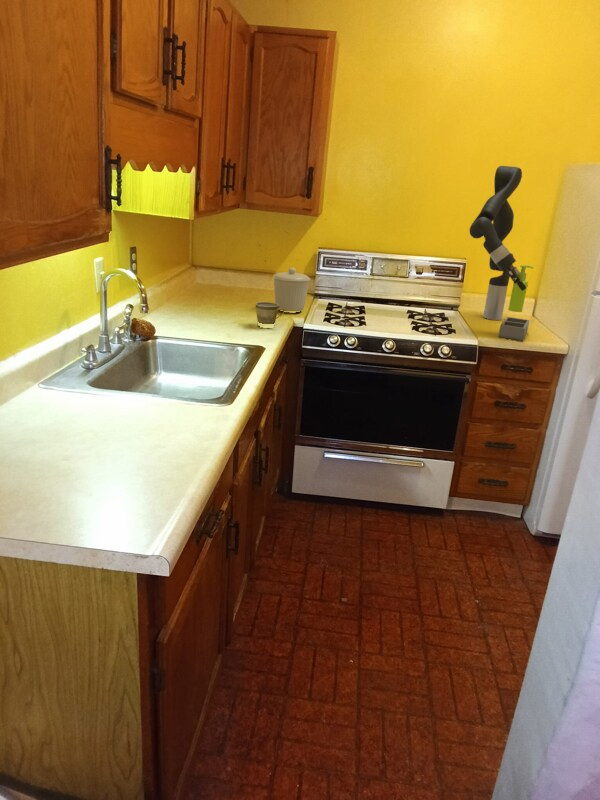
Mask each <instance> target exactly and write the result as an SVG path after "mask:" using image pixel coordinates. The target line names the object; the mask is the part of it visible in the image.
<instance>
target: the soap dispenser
mask: <svg viewBox="0 0 600 800" xmlns="http://www.w3.org/2000/svg"><path fill="white" fill-rule="evenodd" d="M520 268H521V269H520V271H519V272H520V273H518V274H519V275H520V279H521V281H522V282H523V284H524V285H525V286H526V289H524V290H523V291H522V290H521V289H520V288H519V286H518V285H517V284H516V283H514V282H513V285H512V289H511V294H510V300H509V305H508V311H510V312H513V313H522V312H523V309H524V303H525V298H526V293H527V290H528V289H527V288H528V286H529V285H528V284H529V282H528V281H527V280H526V279H527V273H526V268H528V269H534V266H530V265H524V264H523V265H522V264H521V265H520ZM527 285H528V286H527Z"/></svg>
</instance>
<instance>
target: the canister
mask: <svg viewBox="0 0 600 800" xmlns="http://www.w3.org/2000/svg"><path fill="white" fill-rule="evenodd" d="M272 278H273V286H274V287H273V288H274V290H273V291H274V303H277V304H279V308H283V309H284V311H302V310H303V311H304V308H305V304H306V299H307V293H308V289H309V283H310V281H311V280H312V279H311V278H310V277H309V276H308V275H306V274H304V273H299V272H297V270H296V268H295V267H289V268H288V269H287V272H283V271H282V272H278V273H275V274H274V275H272ZM279 310H282V309H279ZM303 311H302V312H303Z"/></svg>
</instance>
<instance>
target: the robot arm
mask: <svg viewBox="0 0 600 800" xmlns="http://www.w3.org/2000/svg"><path fill="white" fill-rule="evenodd" d="M522 171H523V170H522V169H521V168H520V167H517V166H509V165H499V166H498V167H497V168H496V169H495V173H494V180H493V181H494V186H493V188H494V194H493V195H491V196H490V197H488V199H487V200H486V202H485V203H484V205H483V206H482V209H481V210H480V212H479V213H478V215H477V216H476V218H475V219H474V220H473V222H472V223H471V225H470V227H469V235H470V237H472V238H474V239H480V238H484V242H483V247H484V249H485V250H486V252H487V253H488V254H489V262H488V263H489V265H488V266H489V269H490V270H492V271H497V272H502V274H501V275H498V276H494V277H493V276H492V277H491V278H490V279H489V281H488V287H487V294H486V299H485V304H484V308H483V309H484V310H483V314H482V315H483V318H484V319H486V318H487V319H486V320H493V321H501V320H502V319H503V314H504V310H505V309H504V308H505V303H506V298H507V293H508V286H509V283H510V279H511V280H512V282H513V283H516V284H517V285H518V286H519V288H520V289H521V290H522V291H523V290H524V289H526V286H525V285H524V284H523V282H522V281H521V279H520V275H519V274H518V273H520V272H521V271H519V269H518V268H517V267H516V266H514V264H515V263H516V261H517V260H516V258H515V256H514V254H513V253H511V252H510V251H509V249H508V248H507V247H506V246H505V244H504V243H503V241H505V239H506V238H507V237H508V235H509V234H510V233H511V232H512V230H513V227H514V217H515V216H514V215H515V214H514V211H513V209H512V206H511V205H510V203H509V201H508V199H509V198H510V197H511V195H512V194H513V193H514V192H515V191H516V190H517V188H518V187H519V185H520V183H521V181H522V178H523V172H522ZM528 286H529V285H527V287H528Z"/></svg>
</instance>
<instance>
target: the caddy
mask: <svg viewBox="0 0 600 800" xmlns="http://www.w3.org/2000/svg"><path fill="white" fill-rule="evenodd" d="M529 325H530V319H523V318H517V317H510V316H506V317H505V318H504V319H503V321H502V322H501V324H500V327H499V332H498V337H499V338H498V337H497V338H498V339H502V338H505V339H504V340H508V339H511V340H510V341H514V340H515V342H521V343H522V342H523V341H524V340H525V338H526V336H527V334H528V330H529Z"/></svg>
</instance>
